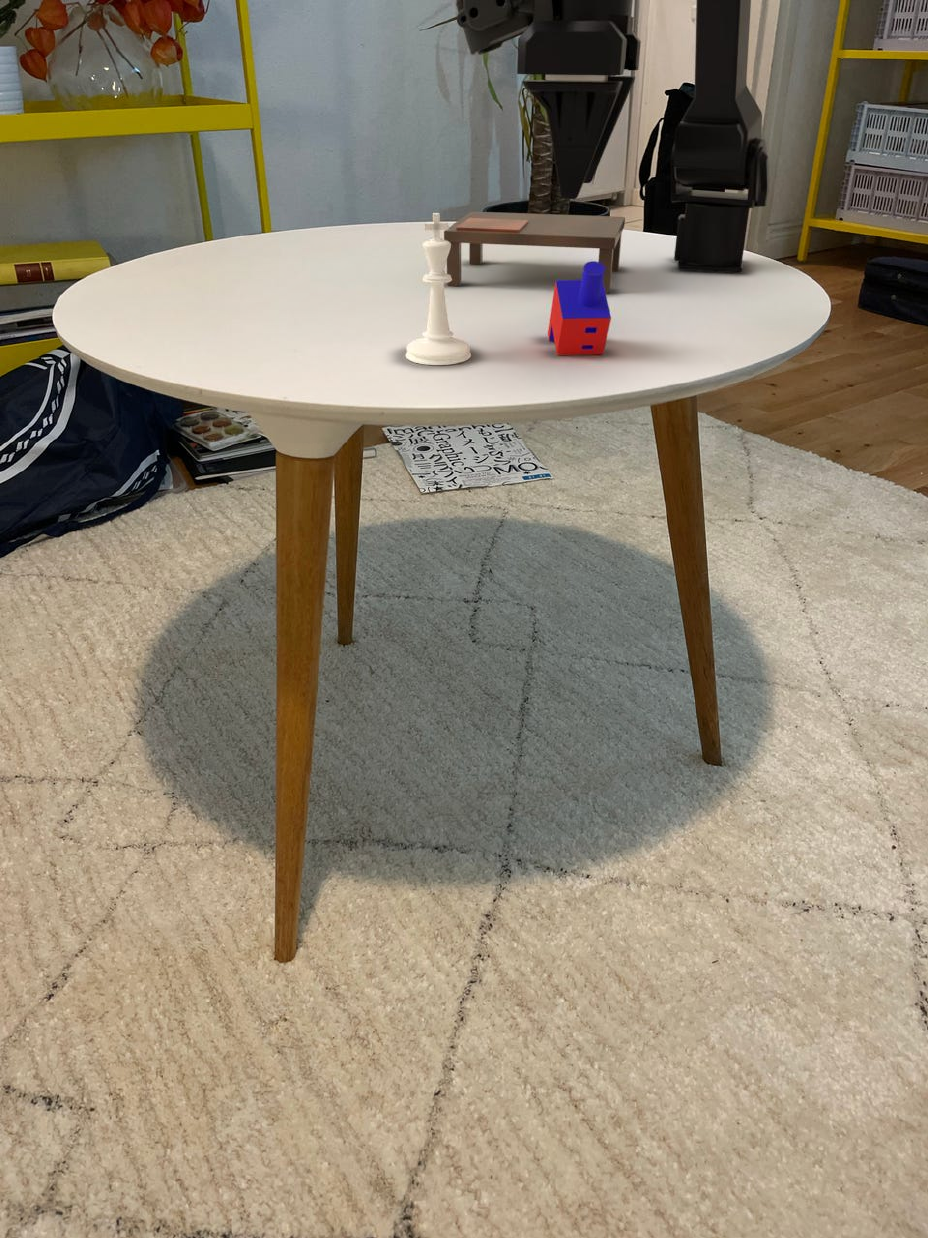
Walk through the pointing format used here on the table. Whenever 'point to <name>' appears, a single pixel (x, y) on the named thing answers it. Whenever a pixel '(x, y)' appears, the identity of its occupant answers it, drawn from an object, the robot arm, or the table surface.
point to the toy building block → (580, 313)
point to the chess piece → (437, 308)
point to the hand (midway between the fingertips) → (576, 190)
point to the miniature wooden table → (534, 236)
